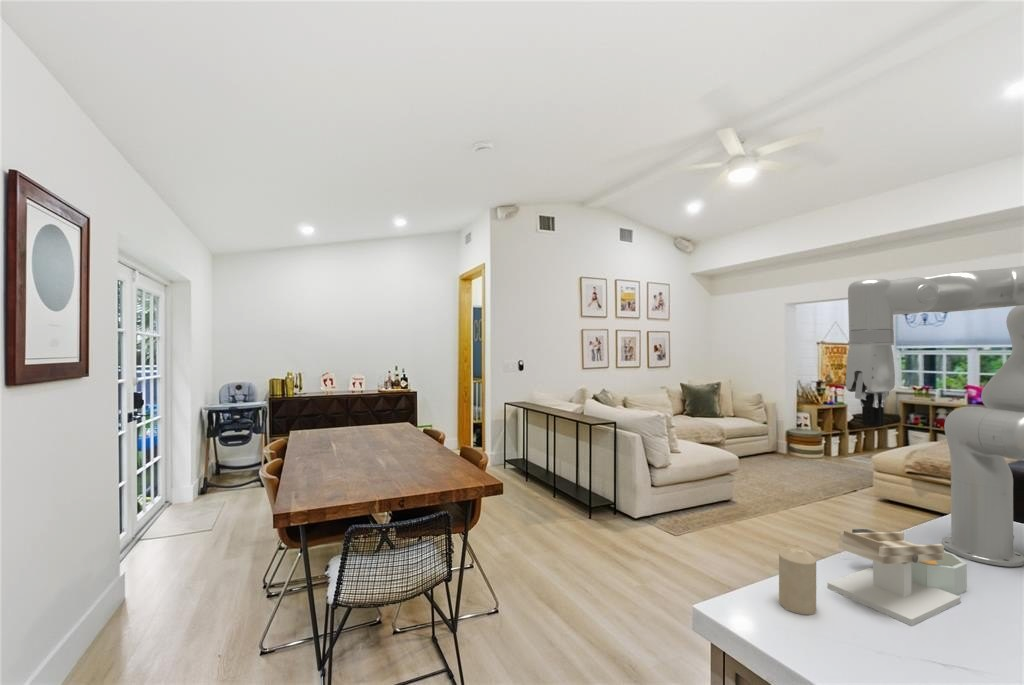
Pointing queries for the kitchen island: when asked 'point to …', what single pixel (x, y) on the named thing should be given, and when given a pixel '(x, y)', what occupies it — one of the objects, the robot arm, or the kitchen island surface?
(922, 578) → the pale green bowl
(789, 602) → the candle
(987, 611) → the kitchen island surface
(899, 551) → the lever
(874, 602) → the lever stand
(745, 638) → the kitchen island surface
